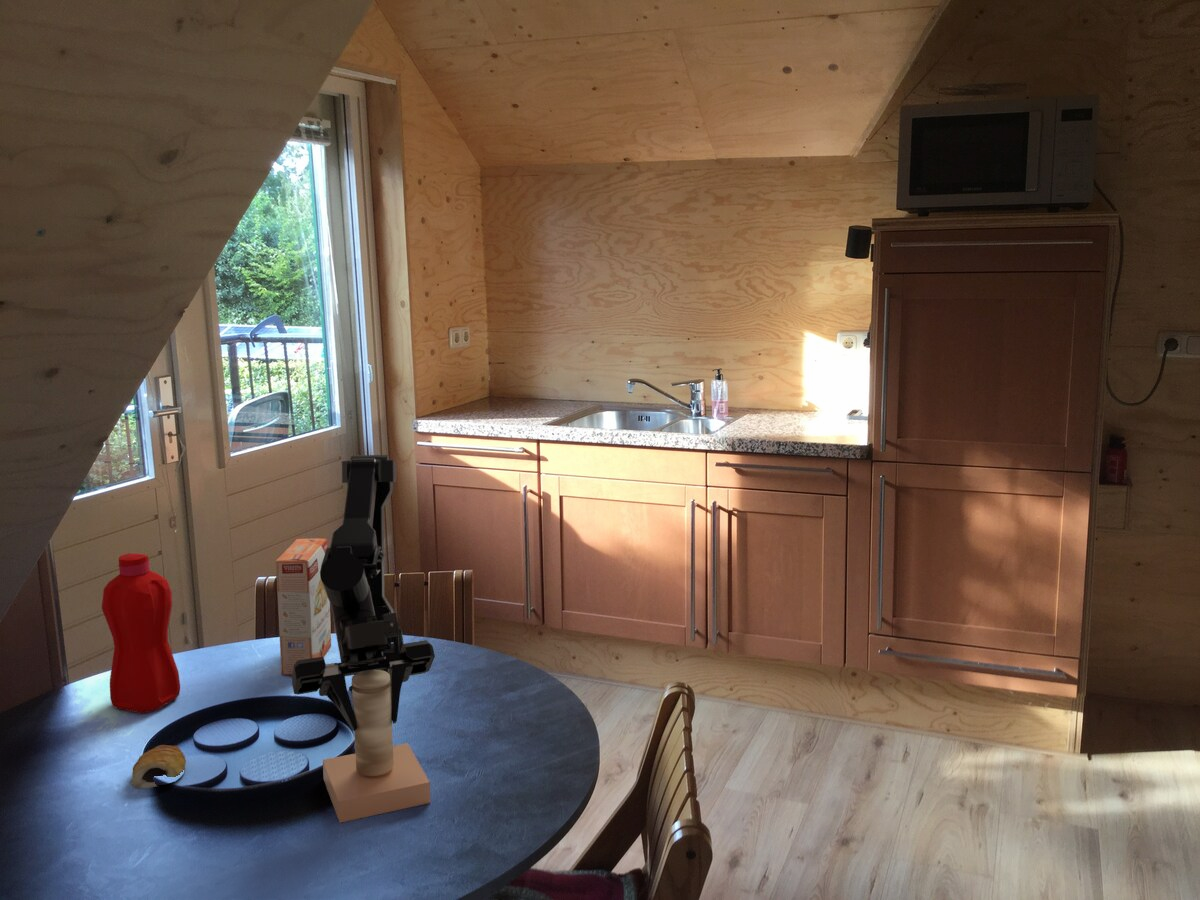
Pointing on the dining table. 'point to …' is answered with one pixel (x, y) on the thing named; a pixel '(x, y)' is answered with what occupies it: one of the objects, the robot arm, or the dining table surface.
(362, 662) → the robot arm
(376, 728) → the birch column
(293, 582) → the cracker box
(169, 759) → the pastry
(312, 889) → the dining table surface
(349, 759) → the terracotta plinth
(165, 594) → the red bottle
